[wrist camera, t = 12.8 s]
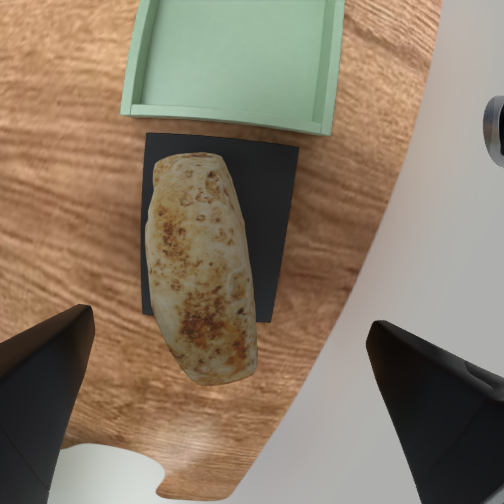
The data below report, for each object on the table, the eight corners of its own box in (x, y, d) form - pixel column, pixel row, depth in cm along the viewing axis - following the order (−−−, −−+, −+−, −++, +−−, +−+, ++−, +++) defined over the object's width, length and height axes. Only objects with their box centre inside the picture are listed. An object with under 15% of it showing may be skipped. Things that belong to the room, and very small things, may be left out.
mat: (297, 147, 18) (299, 147, 18) (269, 319, 22) (270, 322, 22) (147, 132, 17) (146, 132, 16) (143, 311, 21) (142, 314, 21)
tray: (334, -36, 13) (347, -51, 11) (316, 135, 18) (330, 136, 16) (168, -57, 12) (163, -76, 9) (131, 117, 16) (119, 115, 14)
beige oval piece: (256, 300, 21) (284, 415, 12) (201, 310, 21) (198, 429, 12) (228, 141, 17) (242, 148, 8) (165, 154, 17) (108, 178, 8)
